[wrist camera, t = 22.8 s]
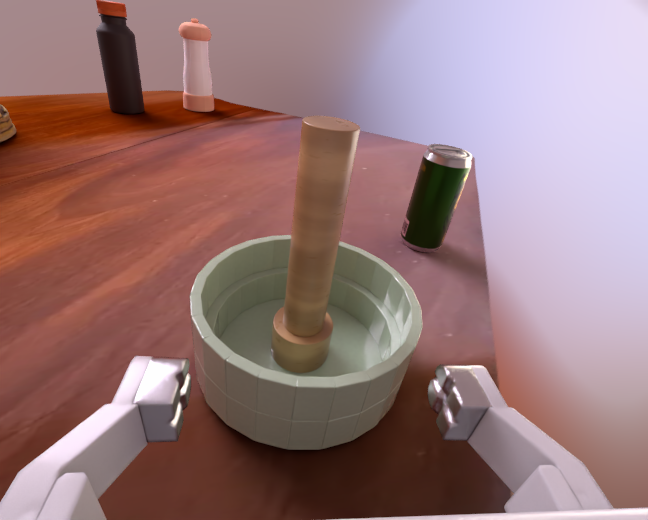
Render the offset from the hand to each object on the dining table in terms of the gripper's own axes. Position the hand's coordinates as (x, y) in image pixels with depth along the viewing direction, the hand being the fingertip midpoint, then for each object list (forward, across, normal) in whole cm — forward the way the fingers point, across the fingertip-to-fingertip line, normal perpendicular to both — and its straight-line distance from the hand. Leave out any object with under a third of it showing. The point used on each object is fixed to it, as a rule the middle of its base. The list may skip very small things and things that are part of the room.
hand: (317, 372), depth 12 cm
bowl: (+11, +1, -12) cm, 17 cm away
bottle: (+81, -36, -12) cm, 89 cm away
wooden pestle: (+12, +1, -12) cm, 16 cm away
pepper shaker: (+92, -23, -12) cm, 95 cm away
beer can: (+31, +17, -12) cm, 38 cm away
